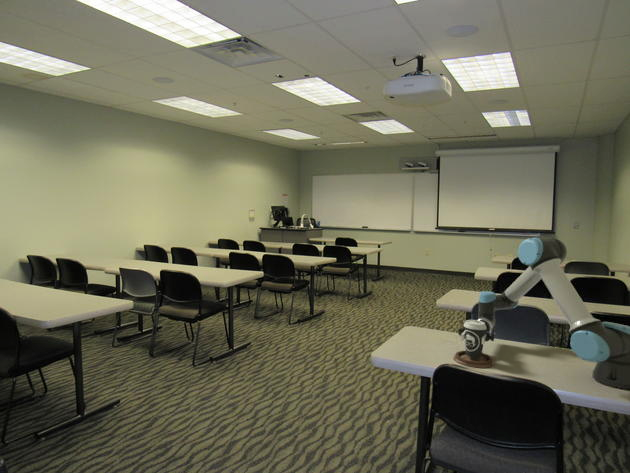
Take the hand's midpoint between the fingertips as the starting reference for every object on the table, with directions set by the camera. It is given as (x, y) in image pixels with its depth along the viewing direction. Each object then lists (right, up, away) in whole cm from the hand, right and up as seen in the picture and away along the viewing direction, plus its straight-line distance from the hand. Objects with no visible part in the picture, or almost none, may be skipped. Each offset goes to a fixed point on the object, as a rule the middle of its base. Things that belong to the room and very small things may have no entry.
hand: (472, 339), depth 175 cm
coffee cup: (+2, -9, +5) cm, 10 cm away
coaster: (+2, -11, +5) cm, 12 cm away
